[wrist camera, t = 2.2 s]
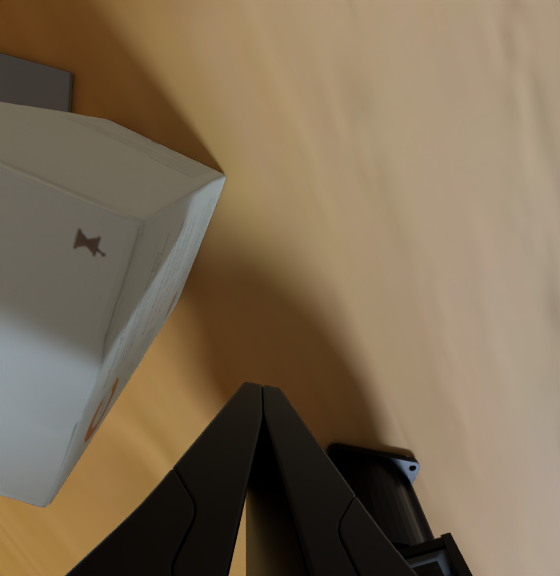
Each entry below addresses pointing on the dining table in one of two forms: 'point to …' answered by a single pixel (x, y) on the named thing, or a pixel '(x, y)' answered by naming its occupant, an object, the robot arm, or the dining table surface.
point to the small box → (83, 278)
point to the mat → (34, 84)
